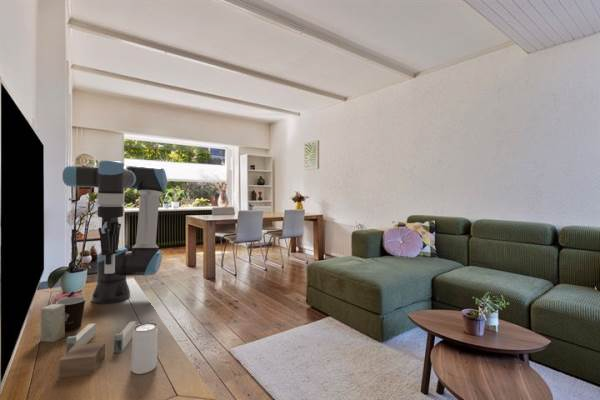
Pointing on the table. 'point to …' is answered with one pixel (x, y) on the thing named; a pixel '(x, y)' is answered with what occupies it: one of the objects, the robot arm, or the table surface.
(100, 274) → the robot arm
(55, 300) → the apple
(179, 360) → the table surface
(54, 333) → the box
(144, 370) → the can
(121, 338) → the chute
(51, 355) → the table surface
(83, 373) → the block
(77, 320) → the coffee mug
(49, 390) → the table surface
